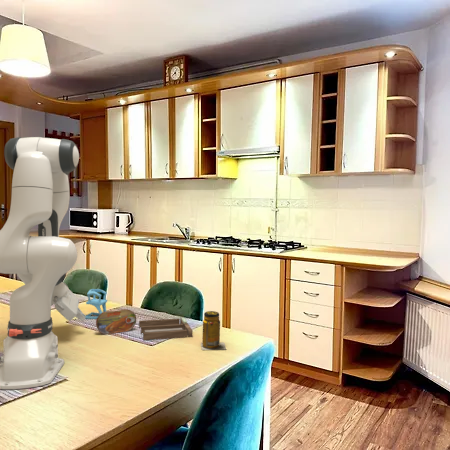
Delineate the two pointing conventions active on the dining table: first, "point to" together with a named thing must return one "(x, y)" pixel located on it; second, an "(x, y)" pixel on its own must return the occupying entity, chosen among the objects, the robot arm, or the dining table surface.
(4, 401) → the dining table surface
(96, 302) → the chair
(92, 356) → the dining table surface
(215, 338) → the condiment
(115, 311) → the tin
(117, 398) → the dining table surface
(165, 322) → the wooden slotted tray
